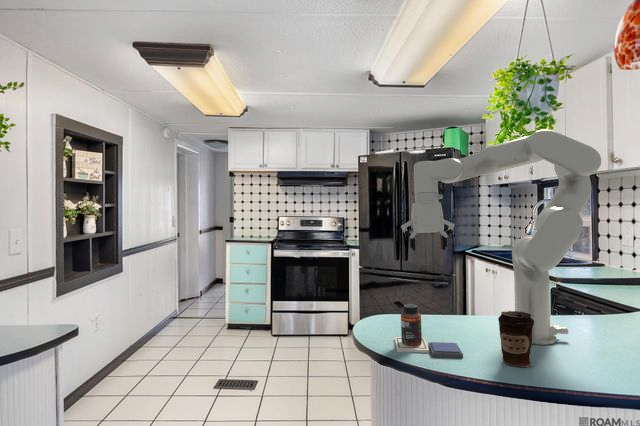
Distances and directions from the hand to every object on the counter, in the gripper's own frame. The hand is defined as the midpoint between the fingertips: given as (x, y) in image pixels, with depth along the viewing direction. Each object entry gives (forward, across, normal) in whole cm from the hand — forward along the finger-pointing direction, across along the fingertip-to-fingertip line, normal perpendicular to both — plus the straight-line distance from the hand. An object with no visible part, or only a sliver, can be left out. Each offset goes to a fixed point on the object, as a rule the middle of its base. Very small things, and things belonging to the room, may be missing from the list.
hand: (428, 249), depth 121 cm
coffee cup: (+28, -17, +24) cm, 41 cm away
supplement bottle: (+27, +8, +13) cm, 31 cm away
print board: (+27, +8, +13) cm, 31 cm away
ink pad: (+27, 0, +18) cm, 33 cm away
